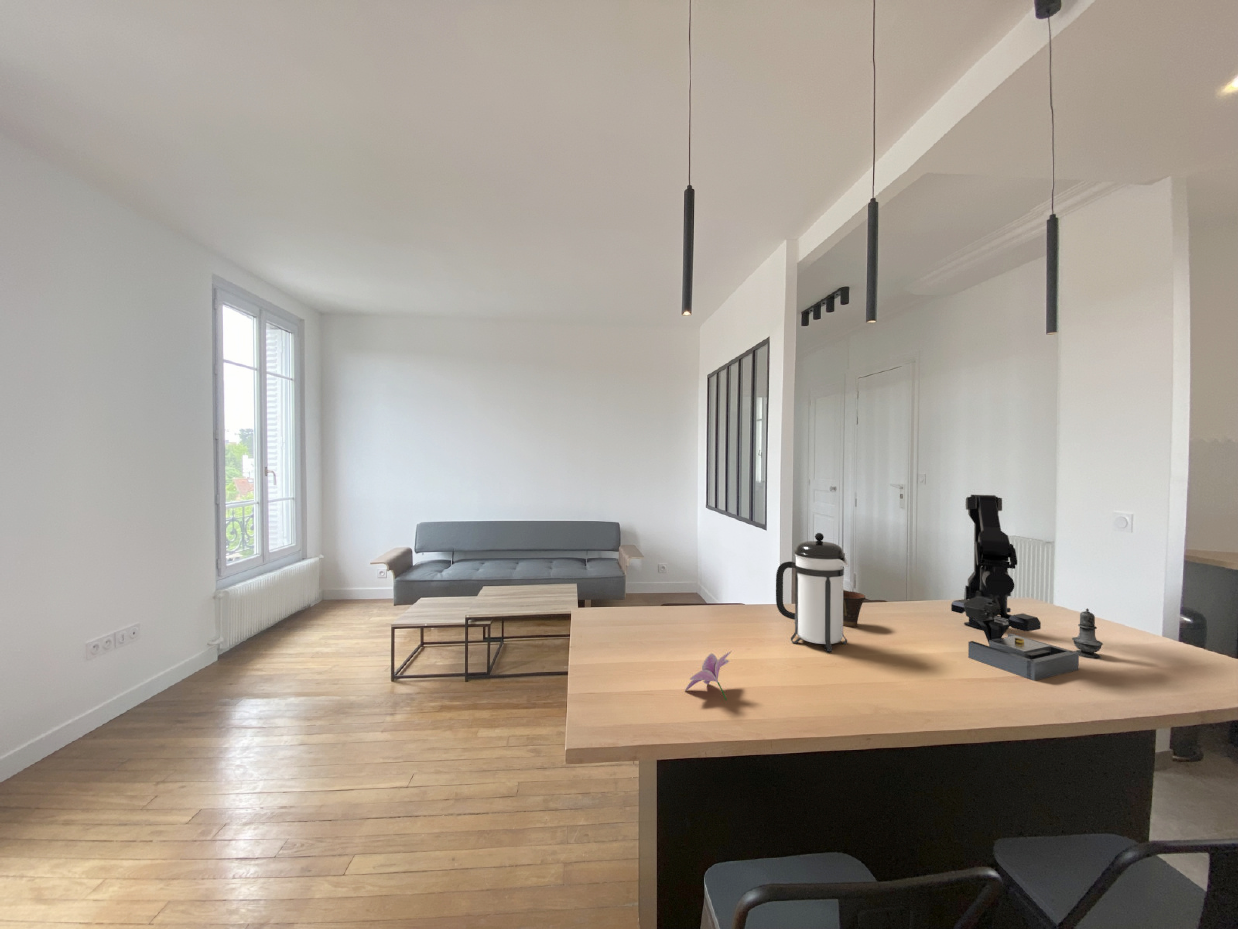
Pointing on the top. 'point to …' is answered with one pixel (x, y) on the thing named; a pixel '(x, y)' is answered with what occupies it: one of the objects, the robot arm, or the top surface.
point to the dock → (1026, 660)
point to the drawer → (1021, 647)
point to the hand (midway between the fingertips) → (992, 647)
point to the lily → (709, 671)
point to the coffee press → (816, 592)
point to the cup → (851, 607)
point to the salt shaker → (1087, 637)
